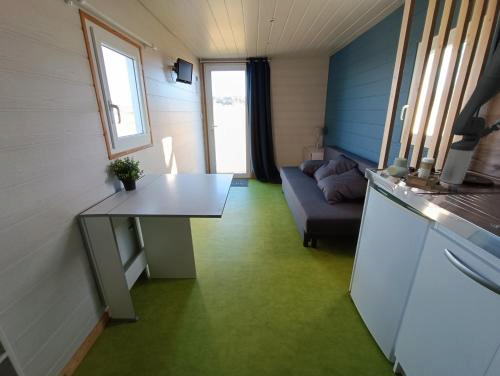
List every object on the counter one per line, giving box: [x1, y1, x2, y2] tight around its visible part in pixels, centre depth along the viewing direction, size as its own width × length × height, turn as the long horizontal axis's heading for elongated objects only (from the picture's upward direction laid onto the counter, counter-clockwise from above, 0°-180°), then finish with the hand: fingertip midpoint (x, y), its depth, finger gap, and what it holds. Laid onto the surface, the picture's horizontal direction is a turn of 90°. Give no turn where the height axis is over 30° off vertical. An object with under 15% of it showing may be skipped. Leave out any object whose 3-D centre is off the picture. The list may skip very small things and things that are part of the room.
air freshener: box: [386, 157, 411, 178], centre depth 129 cm, size 11×8×10 cm
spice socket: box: [404, 171, 445, 194], centre depth 112 cm, size 12×13×5 cm
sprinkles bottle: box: [418, 157, 435, 179], centre depth 111 cm, size 5×5×14 cm
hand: (479, 135), depth 93 cm, fingers open, 8 cm apart
